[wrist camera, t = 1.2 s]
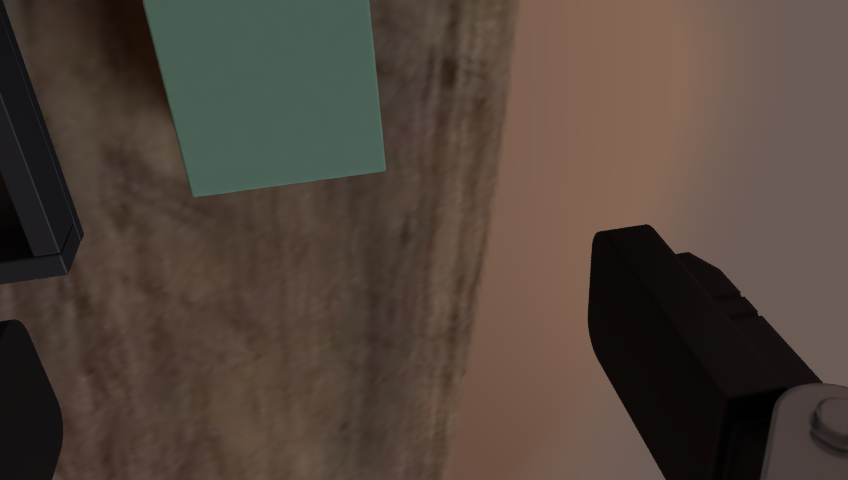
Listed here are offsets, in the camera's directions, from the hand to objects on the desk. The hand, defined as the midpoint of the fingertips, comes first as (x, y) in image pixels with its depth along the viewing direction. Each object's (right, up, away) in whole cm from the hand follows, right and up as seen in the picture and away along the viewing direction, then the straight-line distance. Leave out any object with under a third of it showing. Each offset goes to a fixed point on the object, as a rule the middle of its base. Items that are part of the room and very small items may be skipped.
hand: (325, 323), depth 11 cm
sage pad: (-3, +8, +12) cm, 15 cm away
